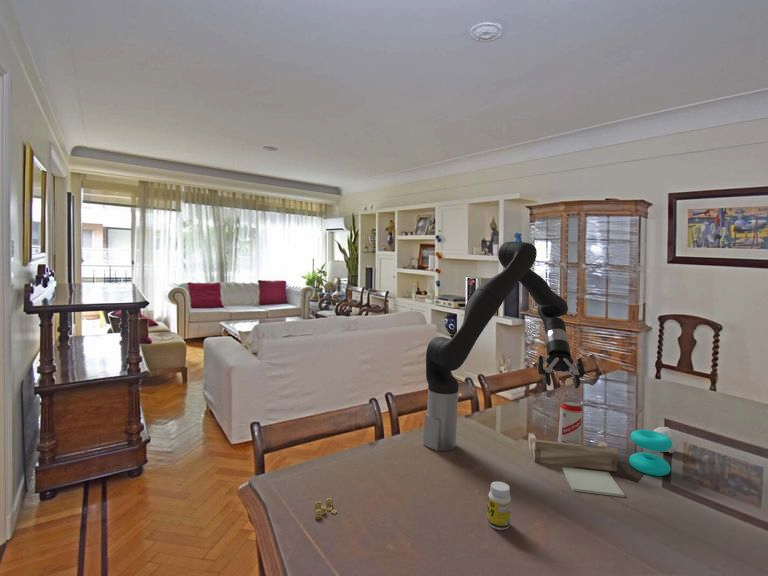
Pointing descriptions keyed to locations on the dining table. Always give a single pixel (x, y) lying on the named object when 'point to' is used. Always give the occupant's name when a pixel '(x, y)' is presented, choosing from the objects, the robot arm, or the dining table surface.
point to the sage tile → (592, 482)
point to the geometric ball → (671, 435)
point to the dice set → (323, 508)
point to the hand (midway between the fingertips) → (563, 385)
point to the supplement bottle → (499, 506)
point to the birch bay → (574, 454)
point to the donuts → (646, 460)
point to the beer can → (570, 422)
